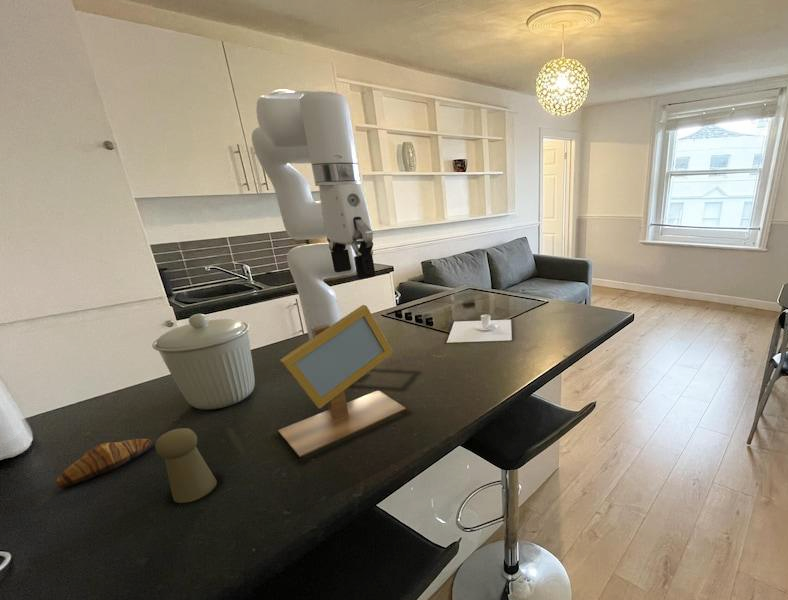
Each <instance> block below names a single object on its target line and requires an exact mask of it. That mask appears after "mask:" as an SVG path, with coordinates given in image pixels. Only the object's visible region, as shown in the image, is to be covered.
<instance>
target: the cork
mask: <svg viewBox="0 0 788 600" xmlns="http://www.w3.org/2000/svg"><path fill="white" fill-rule="evenodd" d="M197 444H198V436H197V434H196V433H195V432H194V430H193V429H190V428H186V427H185V428H184V427H183V428H176V429H171V430H169V431H166V432H165V433H163V434H162V435H160V436H159V437H158V438H157V439H156V442H155V444H154V446H155V447H154V448H155V451H156V453H157V454H158V455H159V457H161V458H164V463H165V467H166V472H167V477H168V482H169V486H170V491H171V495H172V500H173V501H174V502H176V503H178V504H185V503H191V502H194V501H198V500H199V499H201V498H203V497H205V496H206V495H208V494H209V493H211V492H212V491H213V490H214V489H215V488H216V486H217V484H218V483H217V482H218V481H217V479H216V477H215V475H214V474H213V472H212V471H211V469H210V467H209V466H208V464H207V463H206V461H205V459H204V458H203V456H202V454H201V452H200V451H199V450H198V448H197Z"/></svg>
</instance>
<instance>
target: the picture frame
mask: <svg viewBox="0 0 788 600" xmlns="http://www.w3.org/2000/svg"><path fill="white" fill-rule="evenodd" d="M392 354H394V351H393V349H392V347H391V346H390V343H389V342H388V341H387V338H386V337H385V335H384V334H383V331H382V329H381V328H380V327H379V325H378V323H377V321H376V319H375V317H374V316H373V314H372V312H371V311H370V309H369V308H368V306H367V305H365V304H362V305H360V306H359V307H357V308H356V309H354V310H353V311H351V312H350V313H348V314H347V315H345V316H344V317H341V320H339V321H338V322H336V323H335V324H333V325H332V326H330V327H329V328H327V329H326V330H324V331H323V332H321V333H320V334H318V335H317V336H315V337H314V338H312V339H311V340H309V339H308V341H306V342H305V343H303V344H301V345H300V346H298V347H297V348H296V349H294V350H293V351H290V352H289V353H288V354H286V355H285V356H283V357H281V359H279V361H280V362H281V363H282V365H283V366H284V367H285V368H286V370H287V371H288V373H290V375H291V376H292V377H293V379H294V380H295V381H296V383H297V384H298V385H299V387H301V389H302V390H303V391H304V393H305V394H306V395H307V396H308V397H309V400H310V401H312V403H313V404H314V405H315V406H316V407H317V409H318V410H320V409H322V408H323V407H324V406H326V405H328V402H329V401H331V400H332V399H333V398H335V397H336V396H337V395H339V394H340V393H341V392H342V391H344V392H345V390H347V389H348V388H349V387H350V386H352V385H354V383H356V382H357V381H358V380H359V379H361V378H362V377H363V376H365V375H366V374H368V373H369V372H370V371H371V370H373V369H374V368H375V367H377V366H378V365H379V364H381V363H382V362H383V361H385V360H386V359H387V358H388V357H390V356H391V355H392Z"/></svg>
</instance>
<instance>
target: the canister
mask: <svg viewBox="0 0 788 600" xmlns="http://www.w3.org/2000/svg"><path fill="white" fill-rule="evenodd" d="M250 328H251V326H250V324H249V323H247V322H244V321H240V320H237V319H232V318H219V319H217V318H216V319H211V320H210V319H209V317H208V316H207V315H205V314H203V313H195V314H192V315H191V316H190V317H189V318H188V324H185V325H181V326H177V327H175V328H172V329H170V330H167V331H166V332H165V333H163V334H161V335H160V336H159V337H158V338H157V339H156V340H154V341H153V342H152V344H151V347H152V348H153V349H154V350H155V351H158V352H159V354H160V356H161V358H162V360H163V362H164V364H165V365H166V367H167V369H168V371H169V373H170V376H171V377H172V379H173V380H174V382H175V384H176V386H177V387H178V389H179V390H180V392H181V394H182V396H183V397H184V399H185V401H186V402H187V403H188V404H189V405H190V406H191V407H193V408H195V409H197V410H202V411H204V410H206V411H209V410H218V409H222V408H226V407H229V406H232V405H235V404H238V403H239V402H242V401H243V400H245V399H246V398H248V397H249V396H250V395H251V394H252V392H253V391H254V389H255V385H256V383H255V380H256V379H255V371H254V363H253V362H254V361H253V355H252V349H251V344H250V338H249V331H250Z"/></svg>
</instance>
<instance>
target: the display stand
mask: <svg viewBox="0 0 788 600" xmlns="http://www.w3.org/2000/svg"><path fill="white" fill-rule="evenodd" d="M329 327H330V326H329V325H327V324H325V325H321V326H317V327H314V328H311V331H312V335H313V338H314V337H315V336H317V335H318V334H320V333H321V332H323V331H324V330H326V329H327V328H329ZM327 406H328V410H325V411H323V412H320V413H318V414H315V415H312V416H309V417H308V418H305V419H302V420H300V421H297V422H294V423H292V424H290V425H287V426H285V427H282V428H280V429H278V430H277V432H278V434H279V435H280V436H281V437H282V438H283V439H284V441H285V442H286V443H287V445H289V446H290V448H291V449H292V450H293V451H294V452H295V454H296V455H297V456H298V458H302V457H305V456H307V455H308V454H311V453H313V452H315V451H318V450H319V449H323V448H324V447H327V446H329V445H331V444H333V443H335V442H338V441H340V440H342V439H344V438H347V437H349V436H351V435H353V434H356V433H357V432H360V431H361V430H364V429H366V428H368V427H371V426H373V425H375V424H377V423H379V422H382V421H384V420H387V419H389V418H391V417H393V416H395V415H398V414H399V413H402V412H404V411H406V410H407V407H405V406H404V405H402V404H400V403H399V402H397V401H396V400H395V399H393V398H391V397H390V396H388V395H387V394H385V393H384V392H382V391H380V390H376V391H373V392H370V393H368V394H365V395H363V396H360V397H358V398H354V399H352V400H350V401H348V402H347V399H346V394H345V390H344V391H342V392H341V393H340V394H339V395H337V396H336V397H335V398H333V399H332V400H331V401H329V402H328V403H327Z"/></svg>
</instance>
